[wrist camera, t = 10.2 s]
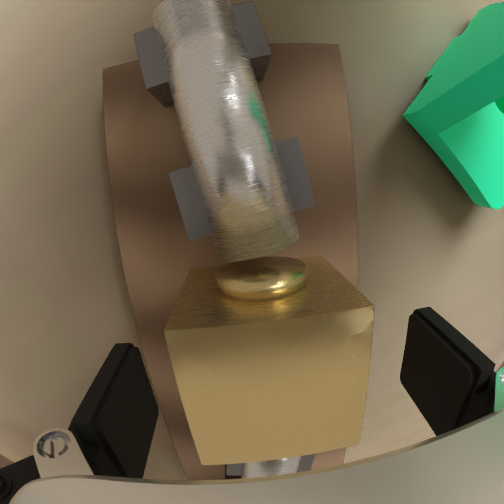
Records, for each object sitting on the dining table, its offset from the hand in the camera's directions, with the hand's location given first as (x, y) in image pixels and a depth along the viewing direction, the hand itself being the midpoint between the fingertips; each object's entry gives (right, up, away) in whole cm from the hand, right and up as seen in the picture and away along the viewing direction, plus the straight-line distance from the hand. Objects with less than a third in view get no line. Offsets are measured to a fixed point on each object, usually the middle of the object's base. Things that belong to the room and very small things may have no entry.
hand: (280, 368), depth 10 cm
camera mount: (+13, +13, +5) cm, 19 cm away
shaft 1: (-2, +9, +3) cm, 10 cm away
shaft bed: (-1, +1, +7) cm, 7 cm away
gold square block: (-1, 0, +5) cm, 5 cm away
